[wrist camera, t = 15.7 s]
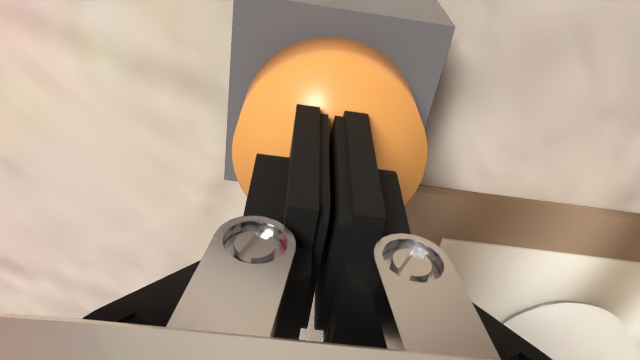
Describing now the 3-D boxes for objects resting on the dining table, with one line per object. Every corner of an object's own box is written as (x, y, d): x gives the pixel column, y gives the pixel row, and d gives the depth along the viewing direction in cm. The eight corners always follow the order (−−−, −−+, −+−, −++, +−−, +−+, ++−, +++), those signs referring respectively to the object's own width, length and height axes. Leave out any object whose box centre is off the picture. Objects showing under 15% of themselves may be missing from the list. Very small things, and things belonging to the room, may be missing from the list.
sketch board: (814, 236, 20) (826, 246, 20) (632, 437, 29) (638, 447, 28) (403, 182, 19) (405, 191, 19) (337, 409, 27) (337, 419, 27)
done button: (435, 51, 12) (452, 83, 11) (393, 200, 15) (401, 245, 13) (249, 23, 12) (238, 52, 10) (238, 180, 15) (227, 223, 13)
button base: (434, -4, 15) (455, 26, 13) (392, 153, 18) (402, 202, 16) (249, -34, 15) (234, -8, 12) (238, 132, 18) (224, 179, 15)
